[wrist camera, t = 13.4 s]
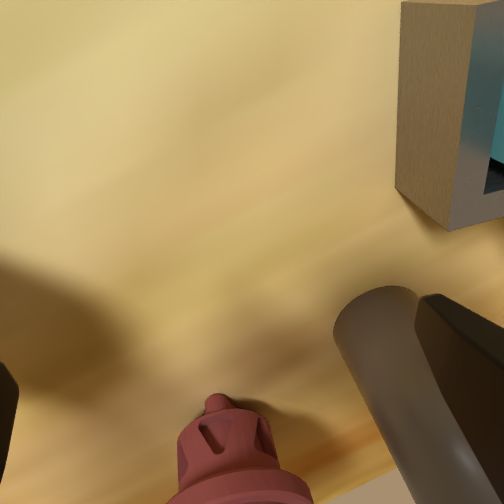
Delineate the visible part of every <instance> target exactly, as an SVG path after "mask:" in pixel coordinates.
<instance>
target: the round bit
mask: <svg viewBox="0 0 504 504" xmlns="http://www.w3.org/2000/svg"><path fill="white" fill-rule="evenodd" d="M418 301H419V298H418V296H417V295H416V294H415V293H414V292H413V291H411V290H409V289H407V288H404V287H400V286H385V287H380V288H376V289H373V290H370V291H368V292H366V293H364V294H362V295H360V296H358V297H357V298H355V299H354V300H353V301H351V302H350V303H349V304H348V305H347V306H346V307H345V308H344V309H343V310H342V312H341V313H340V315H339V316H338V318H337V320H336V322H335V325H334V330H333V336H334V340H335V342H336V344H337V346H338V348H339V350H340V352H341V354H342V356H343V358H344V360H345V362H346V364H347V366H348V368H349V370H350V372H351V374H352V376H353V378H354V380H355V382H356V384H357V386H358V388H359V390H360V392H361V394H362V397H363V399H364V401H365V403H366V405H367V407H368V409H369V411H370V413H371V415H372V417H373V419H374V421H375V423H376V425H377V427H378V429H379V431H380V433H381V435H382V437H383V439H384V441H385V443H386V445H387V447H388V449H389V451H390V453H391V455H392V457H393V459H394V461H395V463H396V465H397V467H398V469H399V471H400V473H401V475H402V477H403V479H404V481H405V483H406V485H407V487H408V489H409V491H410V493H411V495H412V497H413V499H414V501H415V503H416V504H502V503H501V501H500V500H499V498H498V496H497V494H496V492H495V490H494V489H493V487H492V485H491V483H490V481H489V480H488V478H487V476H486V474H485V472H484V471H483V469H482V467H481V465H480V463H479V462H478V460H477V458H476V456H475V454H474V453H473V451H472V449H471V447H470V445H469V444H468V442H467V440H466V438H465V436H464V435H463V433H462V431H461V429H460V427H459V425H458V424H457V422H456V420H455V418H454V416H453V415H452V413H451V411H450V409H449V407H448V406H447V404H446V402H445V400H444V398H443V396H442V394H441V392H440V390H439V387H438V385H437V383H436V381H435V378H434V376H433V373H432V371H431V369H430V366H429V364H428V362H427V359H426V357H425V354H424V352H423V350H422V347H421V345H420V343H419V340H418V338H417V335H416V333H415V329H414V320H415V315H416V310H417V306H418Z"/></svg>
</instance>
